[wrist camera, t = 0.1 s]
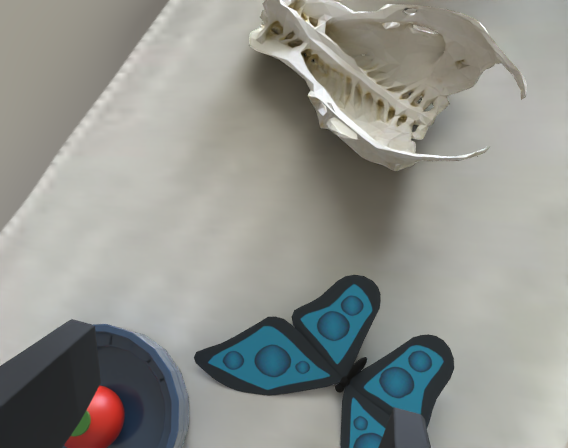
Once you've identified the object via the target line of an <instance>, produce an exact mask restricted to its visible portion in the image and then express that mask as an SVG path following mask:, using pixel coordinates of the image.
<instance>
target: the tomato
mask: <svg viewBox="0 0 568 448" xmlns="http://www.w3.org/2000/svg"><path fill="white" fill-rule="evenodd" d="M124 418H125V413H124V407H123V404H122V401H121V399H120V398H119V396H118V395H117V394H116V393H115V392H114V391H112V390H111V389H109V388H107V387H104V386H100V385H99V387H98V389H97V391H96V393H95V395H94V397H93V399H92V401H91V403H90V405H89V406H88V408H87V410H86V412H85V414H84V416H83V417H82V419H81V421H80V423H79V424H78V426H77V427H76V429H75V430H74V431H73V433H72V434H71V436H70V437H69V439H68V440H67V442H66V443H65V445H64V446H65V447H67V448H107V447H108V446H109V445H111V444H112V443H113V442H114V441H115V440H116V438H117V437H118V435H119V434H120V432H121V430H122V427H123V424H124Z"/></svg>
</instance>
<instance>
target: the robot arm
mask: <svg viewBox="0 0 568 448" xmlns="http://www.w3.org/2000/svg"><path fill="white" fill-rule="evenodd" d="M100 383H101V378H100V368H99V359H98V350H97V341H96V331H95V325H91V324H88V323H84V322H80V321H76V320H73V319H71V320H70V321H68V322H66V323H65V324H63V325H62V326H60V327H59V328H57V329H56V330H54V331H53V332H51V333H50V334H48V335H47V336H45V337H44V338H42V339H41V340H39V341H38V342H36V343H35V344H33V345H32V346H30V347H29V348H27V349H26V350H24V351H23V352H21V353H20V354H18V355H17V356H15V357H14V358H12V359H11V360H9V361H7V362H6V363H4V364H3V365H1V366H0V448H62V447H63V446H64V445H65V443H66V442H67V440H68V439H69V437H70V436H71V434H72V433H73V431H74V430H75V429H76V427H77V426H78V424H79V423H80V421H81V419H82V417H83V416H84V414H85V412H86V410H87V408H88V406H89V405H90V403H91V401H92V399H93V397H94V395H95V393H96V391H97V389H98V387H99V385H100ZM378 448H431V446H430V442H429V438H428V433H427V429H426V424H425V419H424V418H423V416H422V415H421V414H418V413H414V412H410V411H407V410H403V409H399V408H396V407H393V410H392V413H391V415H390V418H389V421H388V423H387V426H386V429H385V431H384V434H383V437H382V439H381V442H380V445H379V447H378Z"/></svg>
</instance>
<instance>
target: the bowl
mask: <svg viewBox="0 0 568 448" xmlns="http://www.w3.org/2000/svg"><path fill="white" fill-rule="evenodd" d="M95 331H96V341H97V350H98V359H99V368H100V378H101V383H100V386H104V387H107V388H109V389H111V390H112V391H114V392H115V393H116V394H117V395H118V396H119V398H120V399H121V401H122V404H123V407H124V413H125V418H124V424H123V427H122V430H121V432H120V434H119V435H118V437H117V438H116V440H115V441H114V442H113V443H112V444H111V445H109V446H108V447H107V448H182V447H183V444H184V441H185V438H186V434H187V431H188V427H189V399H188V398H189V397H188V394H187V390H186V387H185V383H184V380H183V377H182V373H181V371H180V369H179V368H178V367H177V365H176V364H175V362H174V361H173V359H172V358H171V357H170V355H169V354H168V352H167V351H166V350H165V349H164V348H162V347H161V346H160V345H158V344H157V343H156V342H154V341H153V340H151V339H150V338H149V337H147V336H146V335H143V334H140V333H137V332H133V331H130V330H126V329H123V328H119V327H115V326H112V325H108V324H97V325H95ZM62 448H67V447H65V446H63V447H62Z"/></svg>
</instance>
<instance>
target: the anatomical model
mask: <svg viewBox="0 0 568 448" xmlns="http://www.w3.org/2000/svg"><path fill="white" fill-rule="evenodd" d="M263 7H264V9H265V11H264V10H263V11H262V14H261V16H260V18H261V19H262V21H263V23H264V25H261V24H260V28H258V29H256V30H254V31H252V32H250V36H249V46H251V47H252V48H253V49H254V50H255V51H257V52H260V53H264V54H267V55H269V56H272V57H274V58H277V59H279V60H281V61H282V62H284V63H285V64H286V65H288V66H289V67H290V68H292V69H293V70H294V71H295V72H296V73H298V74H299V75H300V76H301V77H302V78H303V79H304V80H305V81H306V83H307V85H308V87H309V89H310V92H309V94H308V98H309V99H310V101H311V103H312V105H313V106H314V108H315V110H316V113H317V116H318V119H319V125H320V128H324V129H329V130H330V131H332V132H333V133H334V134H336V135H337V136H338V137H339V138H340V139H342V140H343V141H344V142H345V143H346V144H347V145H349V146H350V147H351V148H352V149H353V150H354V151H355V152H356V153H357V154H358V155H360V156H361V157H362V158H364V159H366V160H368V161H370V162H373V163H377V164H380V165H384V166H385V167H387V168H389V169H391V170H393V171H399V170H402V169H405V168H408V167H410V166H413V165H414V164H415V162H419V161H460V160H464V159H468V158H472V157H474V156H477V155H480V154H482V153H485V152H486V151H487V150H488V149H489V147H490V146H489V147H487V148H485V149H483V150H480V151H478V152H475V153H471V154H466V155H460V156H455V157H446V156H435V155H425V154H416V145H415V142H413V141H411V139H412V138H413V139H418V140H423V138H424V136H425V134H426V132H427V129H428V127H430V126H431V125H432V124H433V123H434V120H435V117H436V116H437V115H438V114H439V113H440V112H442V111H443V110H444V109H445V108H446V107H447V106H448V105H449V104H450V103H449V101H448V98H447V96H449V95H451V94H455V93H458V92H461V91H464V90H467V89H469V88H471V87H473V86H474V85H475V84H476V82H477V81H478V79H479V77H480V75H481V74H482V73H483V72H484V71H485V70H486V69H489V68H491V67H493V66H494V65H495V63H496V64H500V63H502V64H503V66H504V67H505V68H506V69H507V70H508V71H509V72H510V73H511V74H512V75H513V76H514V78H515V80H516V82H517V84H518V86H519V88H520V90H521V100H522V99H523V98H525V97H526V89H527V85H526V80H525V78H524V76H523V75H522V74H521V72H520V71H519V70H518V69H517V68H516V67H515V66H514V64H513V63H512V62H511V61H510V60H509V59H508V57H507V56H506V55H505V54H504V53H503V52H502V50H501V49H500V48H499V47H498V46H497V44H496V43H495V42H494V41H493V39H492V38H491V37H490V36H489V34H488V32H487V31H486V29H485V27H484V26H483V25H482V24H481V23H480V22H479V21H478V20H476V19H474V18H472V17H469V16H467V15H465V14H463V13H459V12H455V11H451V10H448V9H443V8H436V7H429V6H422V5H407V4H389V5H384V6H383V7H382V8H381V9H380V10H378V11H373V12H355V11H353V10H351V9H349V8H347V7H346V6H344V5H342V4H341V3H339V2H337V1H336V0H265V2H264V3H263ZM412 8H413V9H417V11H416V13H412V14H407V13H405V12H403V11H402V10H407V9H412ZM412 23H413V24H415V25H419V26H423V27H426V28H429V29H431V30H433V31H435V32H437V33H438V34H435V33H432V32H428V31H424V30H419V29H415V28H413V25H412ZM305 54H306V56H307V57H305ZM363 54H365V56H364V55H363ZM313 59H314V61H315V63H314V62H312V61H311V60H313ZM319 66H320V67H319ZM326 72H327V74H326ZM409 93H411V95H410V96H409ZM330 96H331V97H330ZM421 98H423V99H422V101H421V103H420V104H419V103H417V102H418V101H419V99H421ZM431 103H432V104H433V106H434V107H433V108H432V109H431V110H430V111H424V110H425V109H426V108H427V107H428V106H429V105H430V104H431ZM413 125H418V128H417V129H416V131H415V132H412V127H413ZM477 157H478V156H477Z"/></svg>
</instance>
